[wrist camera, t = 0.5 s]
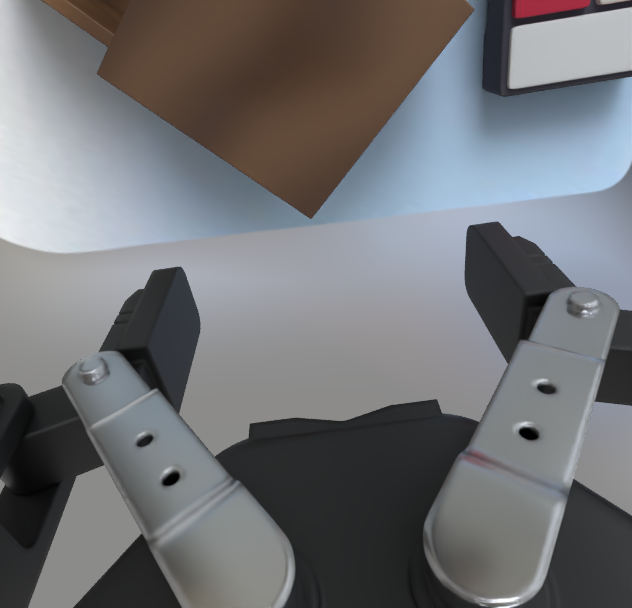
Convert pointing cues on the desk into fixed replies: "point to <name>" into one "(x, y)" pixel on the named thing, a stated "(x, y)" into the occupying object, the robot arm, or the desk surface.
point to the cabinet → (280, 78)
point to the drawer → (93, 15)
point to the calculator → (555, 44)
